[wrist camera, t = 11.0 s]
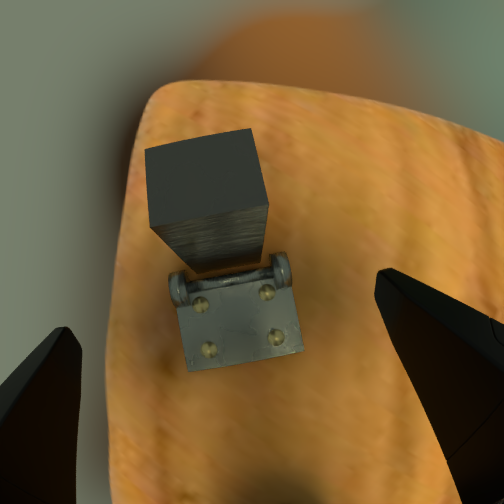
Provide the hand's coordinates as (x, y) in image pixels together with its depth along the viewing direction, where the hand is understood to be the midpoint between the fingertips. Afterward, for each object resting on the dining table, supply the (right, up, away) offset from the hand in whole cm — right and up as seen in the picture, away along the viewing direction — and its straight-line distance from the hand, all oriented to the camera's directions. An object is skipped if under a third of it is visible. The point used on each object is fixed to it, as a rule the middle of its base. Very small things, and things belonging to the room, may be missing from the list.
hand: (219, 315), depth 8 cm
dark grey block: (-1, +2, +14) cm, 15 cm away
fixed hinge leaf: (0, -3, +13) cm, 14 cm away
